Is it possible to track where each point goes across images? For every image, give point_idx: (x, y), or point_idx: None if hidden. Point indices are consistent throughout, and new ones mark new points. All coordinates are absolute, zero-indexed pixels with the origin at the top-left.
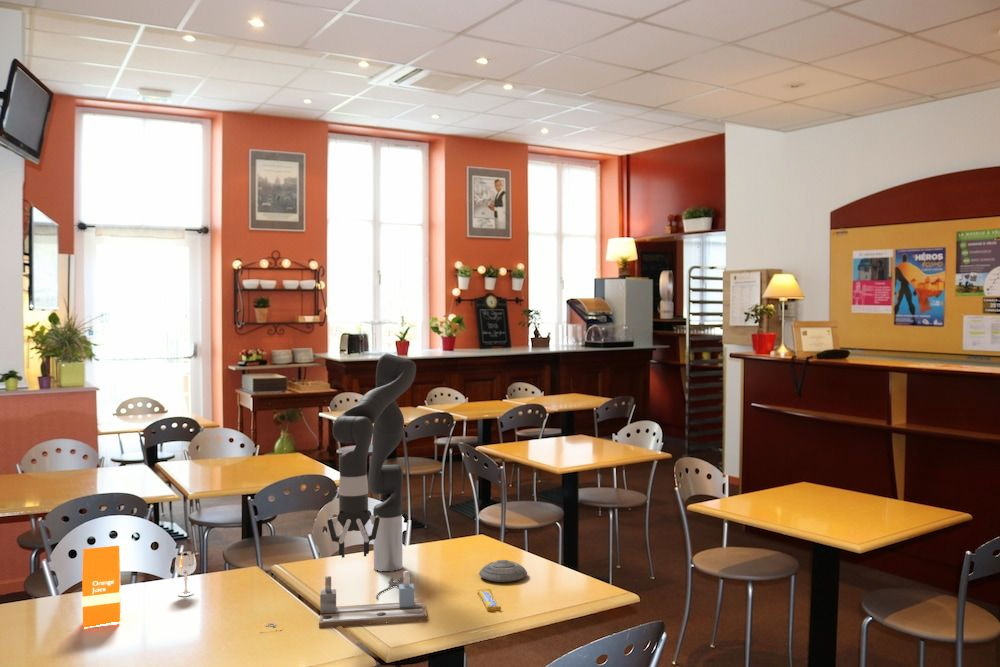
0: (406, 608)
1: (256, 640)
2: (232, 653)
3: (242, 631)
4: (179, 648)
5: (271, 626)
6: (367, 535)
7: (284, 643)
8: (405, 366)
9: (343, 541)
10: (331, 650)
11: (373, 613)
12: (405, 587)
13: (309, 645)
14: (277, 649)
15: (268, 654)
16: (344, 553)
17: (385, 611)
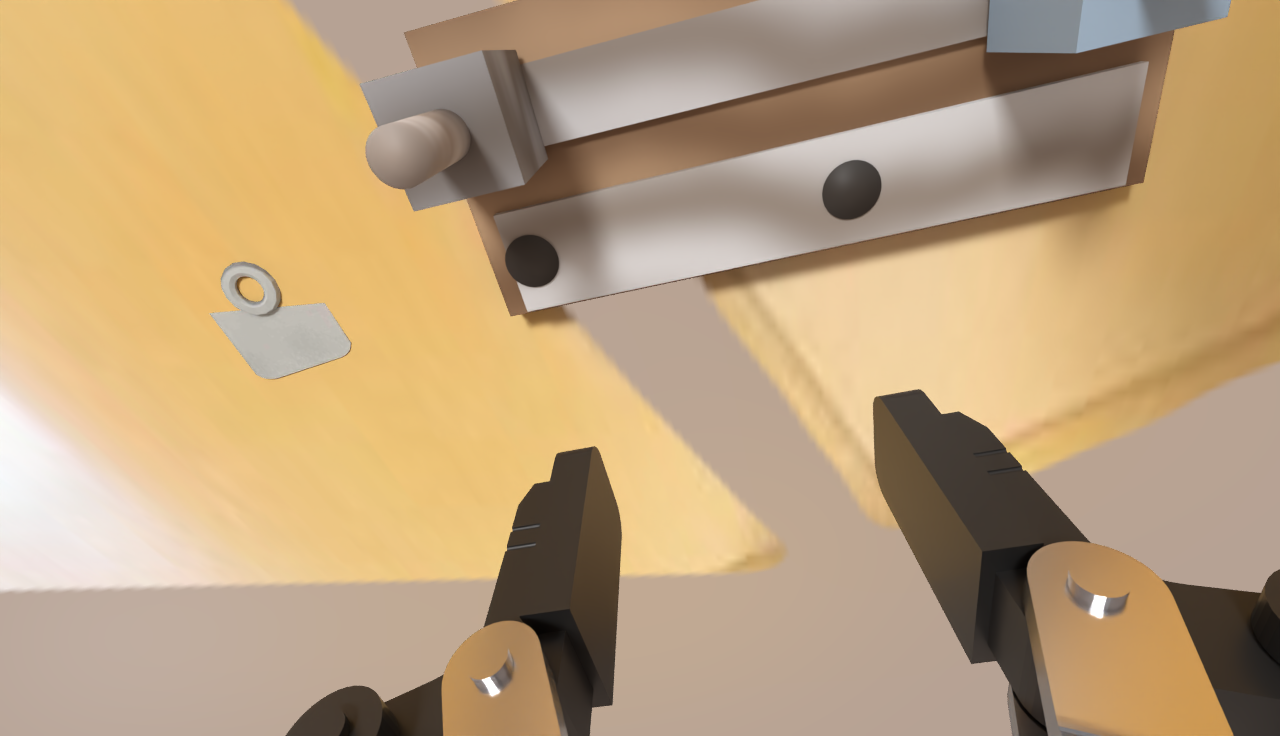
0: None
1: (309, 452)
2: (304, 552)
3: (169, 365)
4: (73, 524)
5: (267, 313)
6: (1167, 676)
7: (444, 474)
8: None
9: (587, 727)
10: (657, 522)
11: (800, 180)
12: (1143, 2)
13: None
14: (447, 521)
15: (438, 555)
16: (599, 487)
17: (878, 136)
